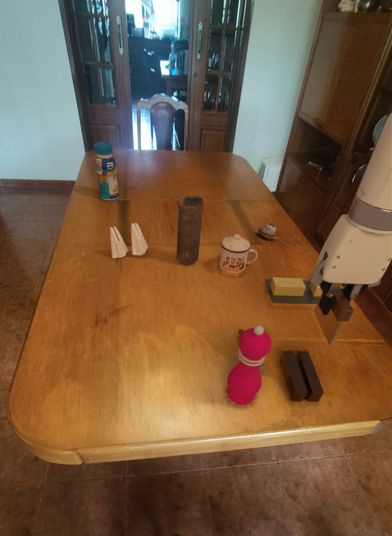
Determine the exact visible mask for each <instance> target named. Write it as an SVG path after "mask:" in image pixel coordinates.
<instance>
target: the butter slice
mask: <svg viewBox="0 0 392 536" xmlns="http://www.w3.org/2000/svg"><path fill="white" fill-rule="evenodd" d="M309 288H310V290H311V292H312V294H313V296H321V294H322V290H321V288H320V286H318V285H315V284H313V283H312V282H311V284H310V287H309Z"/></svg>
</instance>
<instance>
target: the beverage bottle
mask: <svg viewBox="0 0 392 536" xmlns="http://www.w3.org/2000/svg"><path fill="white" fill-rule="evenodd" d="M93 147H94V153H95V155H96V157H95V160H94V165H95V174H96V177H97V182H98V183H97V185H98V191H99V197H100V198H101V199H102V200H104V201H115V200H117V199H119V198H120V191H119V183H118V169H117V167H116V165H117V163H116V160H115V158H114V156H113V153H114V152H113V145H112V143H110V142H107V141H97V142H94V144H93Z"/></svg>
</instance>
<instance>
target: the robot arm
mask: <svg viewBox="0 0 392 536" xmlns="http://www.w3.org/2000/svg"><path fill="white" fill-rule="evenodd" d="M391 261H392V112H391V113H390V114H389V116H388V117H387V120H386V121H385V123H384V125H383V128H382V130H381V133H380V135H379V138H378V140H377V143H376V144H375V147H374V150H373V152H372V154H371V157H370V159H369V162H368V164H367V167H366V169H365V171H364V174H363V176H362V179H361V180H360V183H359V186H358V188H357V191H356V193H355V195H354V198H353V200H352V203H351V205H350V207H349V210H348V212H347V214H345V213H343V214H341V215H340V217H339V218H338V220H337V221H336V223H335V224H334V226H333V228H332V229H331V231H330V233H329V235H328V236H327V238H326V240H325V242H324V244H323V246H322V249H321V250H320V253H319V255H318V257H317V260H316V262H315V268H314V270H313V271H312V272H311V273H310V275H309V276H308V278H309V281H311V282H312V283H313V284H315V285H318V286H320V287H321V288H322V289H323V291H324V292H323V294H322V296H321V298H320V301H319V308H320V309H321V311H322V313H323V315H328V314H329V311H330V309H331V307H332V305H333V303H334V301H335V297H334V294H335V292H336V290H337V288H338V286H340V284H344V288H342V287H340V288H341V289H342V291H343V293H344V295H345V296H346V298H347V300H348V301H349V303H350V304H351V301H352V299H355V298H357V296H358V294H360V293H362V292H364V291H365V290H367V289H369V288H374V287H378V286H379V285H381V282H382V278H383V276H384V275H385V272H386V271H387V269H388V267H389V265H390V264H391Z"/></svg>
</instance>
